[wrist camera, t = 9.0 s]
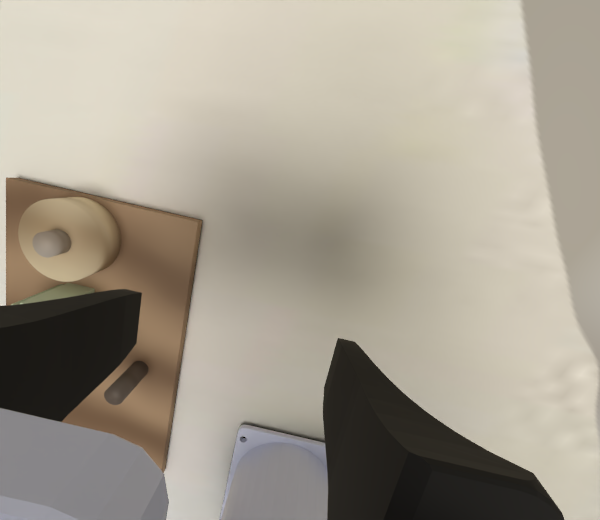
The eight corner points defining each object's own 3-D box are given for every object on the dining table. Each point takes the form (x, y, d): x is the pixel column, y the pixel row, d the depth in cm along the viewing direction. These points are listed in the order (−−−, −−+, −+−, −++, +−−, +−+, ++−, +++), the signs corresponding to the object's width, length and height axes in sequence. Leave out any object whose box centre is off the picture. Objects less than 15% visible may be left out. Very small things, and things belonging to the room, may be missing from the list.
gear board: (165, 469, 26) (126, 542, 21) (15, 435, 26) (-60, 498, 21) (202, 220, 21) (164, 234, 16) (17, 177, 21) (-81, 177, 16)
